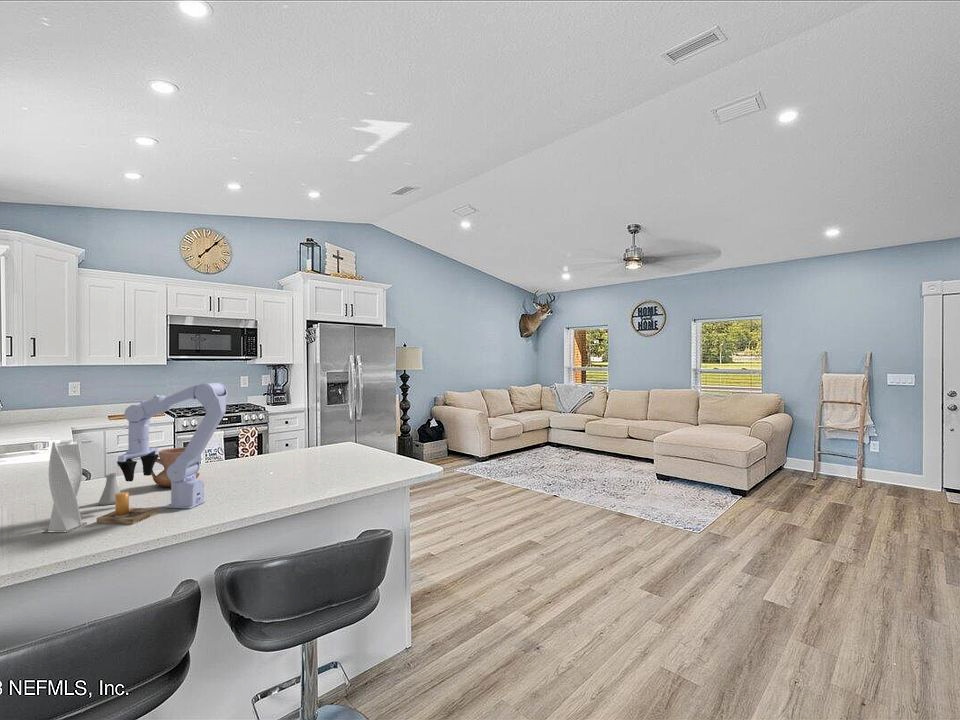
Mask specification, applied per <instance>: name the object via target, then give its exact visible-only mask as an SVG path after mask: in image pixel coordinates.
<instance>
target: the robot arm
mask: <svg viewBox="0 0 960 720" xmlns="http://www.w3.org/2000/svg"><path fill="white" fill-rule="evenodd" d="M228 394H229V392H228V391H227V388H226V386H225V385H224V384H223V383H222V382H218V381H215V382H209V383H205V382H202V383H200V384H196V385H192V386H189V387H187V388H185V389H182V390H180V391H178V392H177V391H176V392H175V393H172V394H171V395H168V396H166V395H162V394H161V395H160V394H156V395H154V396H153V398H151V399H148V400H141V401H140V402H139V404H130V406H128V407H127V408H126V409H125V410H124V413H123V414H124V417H125V420H126V421H128V434H127V435H128V442H127V444H128V445H127V446H128V451H126V452H125V453H124V454H121V455H118V456H117V461H116V462H117V463H116V464H117V466H118V467H119V468H120V470H121V471H122V474H123V476H124V480H125V482H133V481H134V479H135V478H134V477H135V470H136V465H137V463H138V461H137V460H134V459H138V458H140V460H141V462H142V463H141V464H142V473H143V476H146V477H147V476H152V475H151V472H152V470H153V468H154V466H155V463H157V462H156V460H157V459H159V458H160V457H159V453H158V452H159V450H158V447H150V431H149V430H150V423H151V421H150V420H151V418H152V417H155V416H158V415H160V414H162V413H165V412H167V411H170V410H171V408H172V405H175V404H179V403H182V402H185V401H187V400H190V399H193V400H196V401H198V403H200V404H201V405H202V407H203V408H204V410H205V415H204V416H203V418H202V420H201V422H200V423H199V424H198V426H197V428H196V430H195V432H194V434H193V435H192V437H191V439H190V441H189V442H188V444H187V446H185V447H186V449H185V451H184V452H183V453H182V454H181V455H180V456H179V457H178V458H177V459H176V460H175V462H174V463H173V464H171V465H170V466H169V467H168V468H167V476H168V478H169V479H170V480H171V487H170V495H171V496H170V504H167V505H165V506H164V508H166V509H170V508H171V509H192V508H195V507H196V506H199V505H201V504H204V503H205V502H206V500H205V484H204V481H203V480H201V479H198V478H197V479H196V473H197V472H198V473H199V471H200V469H201V462H202V460H203V458H202V454H203V452H204V450H205V449H206V447H207V446H208V444H209V442H210V440H211V438H212V437H213V435H214V433H215V432H216V429H217V428H218V426H219V425H220V423H221V421H222V419H223V418H224V416H225V414H226V411H227V397H228Z"/></svg>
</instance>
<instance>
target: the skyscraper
mask: <svg viewBox="0 0 960 720" xmlns="http://www.w3.org/2000/svg"><path fill="white" fill-rule="evenodd" d="M80 441H81V440H80V435H79V434H77V435H76V436H75V440H74V441H73V439H65V440H60V441H59V442H58V443H56V442H55V441H53V442H52V445H51V450H50V455H49V462H48V483H49V484H48V485H49V490H50V493H51V497H52V500H53V501H52V502H53V505H52V511H51V515H50V521H49V524H48V528H46V529H44V530H43V531H66V532H65V533H68V532H67V531H69V532H71V531H70V530H72V529H74V530H76V529H78V528H80V527H79V526H81V527H83V526H85V525H87V524H88V522H86V521H85V522H84V521H82V518H81V514H80V508H79V503H78V499H77V496H78V494H79V492H80V491H79V490H80V487H81V484H82V483H81V482H82V477H83V456H82V450H81V445H80ZM86 523H87V524H86ZM84 524H85V525H84ZM82 525H83V526H82ZM77 527H78V528H77ZM75 528H76V529H75ZM72 531H73V530H72Z"/></svg>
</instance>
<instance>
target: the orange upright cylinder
mask: <svg viewBox="0 0 960 720" xmlns="http://www.w3.org/2000/svg"><path fill="white" fill-rule="evenodd" d="M114 505H115V507H114V508H115V509H114V511H115V517H125V516H128V515H129V508H130V492H128V491H125V492H121V493H118V494H116V495H115V504H114Z"/></svg>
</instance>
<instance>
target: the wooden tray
mask: <svg viewBox="0 0 960 720" xmlns="http://www.w3.org/2000/svg"><path fill="white" fill-rule="evenodd" d="M158 514H159V509H158V508H148V507H147V508H146V507H145V508H144V507H129V515H128V516H125V517H115V510H114V511H111V512H109V513H106V514H103V515H101V516H98V517H96V522H98V523H97V524H113V523H122V524H121V525H134V523H135V524H137V523H139V522H141V520H142V521H143V519H144V520H146V519H148V517H149V518H151V517H154V516H155V515H158ZM150 516H151V517H150ZM145 518H146V519H145ZM138 521H139V522H138ZM136 522H137V523H136Z"/></svg>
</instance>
